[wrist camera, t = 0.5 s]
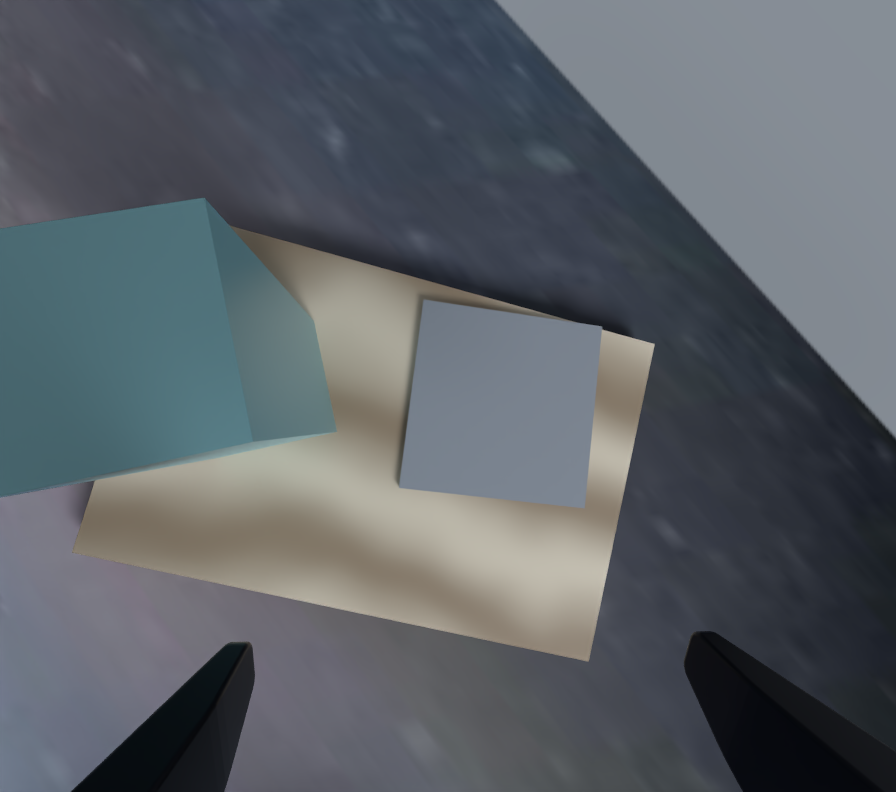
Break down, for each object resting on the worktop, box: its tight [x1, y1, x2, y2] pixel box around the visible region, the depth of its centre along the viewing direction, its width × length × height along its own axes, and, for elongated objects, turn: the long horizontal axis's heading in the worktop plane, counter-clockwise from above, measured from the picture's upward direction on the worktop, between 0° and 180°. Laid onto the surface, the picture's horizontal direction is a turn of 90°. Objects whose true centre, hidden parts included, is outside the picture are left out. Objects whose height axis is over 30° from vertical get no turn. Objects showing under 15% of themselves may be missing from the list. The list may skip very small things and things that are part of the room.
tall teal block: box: [0, 198, 337, 498], centre depth 14 cm, size 5×5×11 cm
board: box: [72, 225, 654, 662], centre depth 20 cm, size 16×24×3 cm, turn 76°
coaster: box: [399, 300, 602, 508], centre depth 21 cm, size 9×9×1 cm
